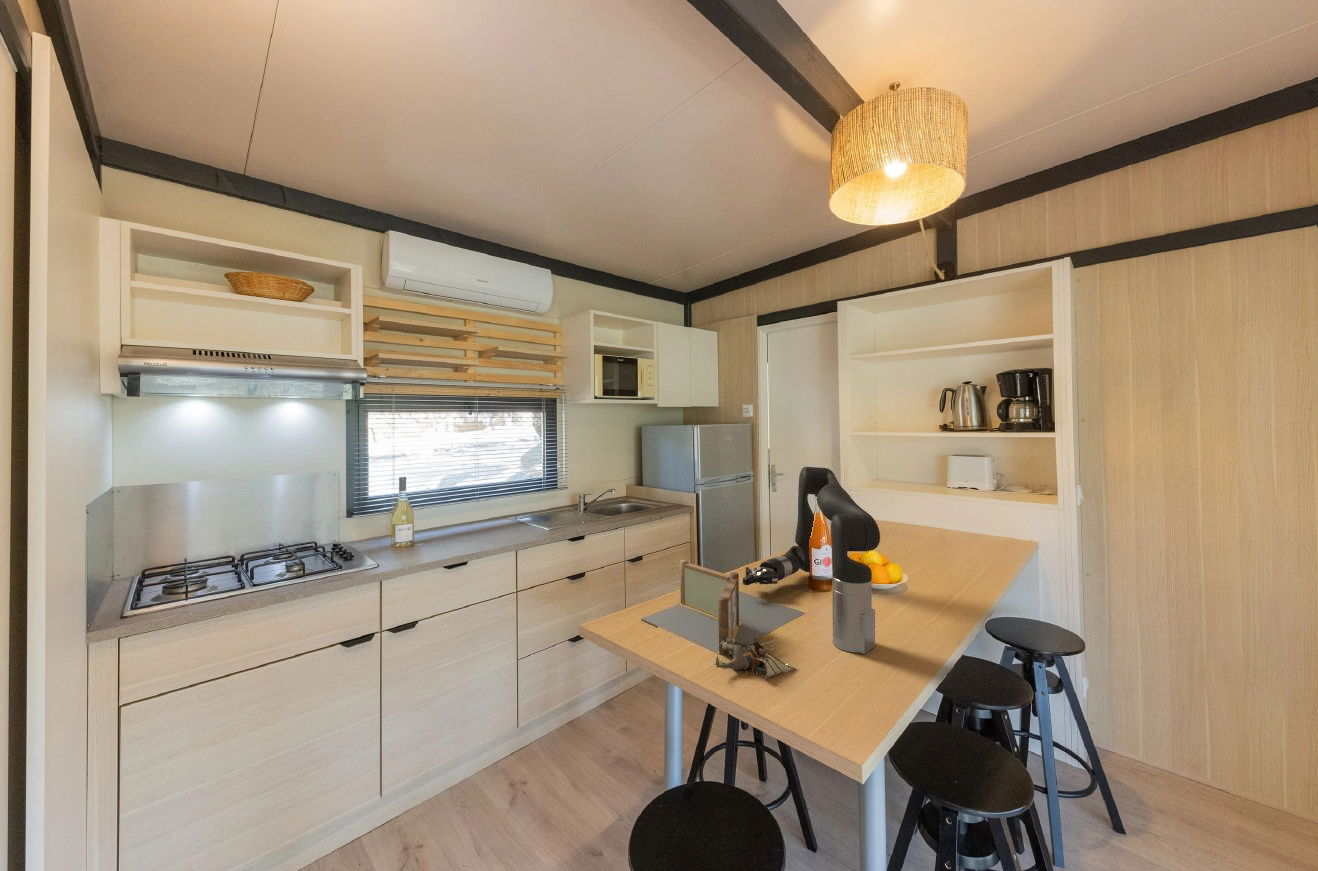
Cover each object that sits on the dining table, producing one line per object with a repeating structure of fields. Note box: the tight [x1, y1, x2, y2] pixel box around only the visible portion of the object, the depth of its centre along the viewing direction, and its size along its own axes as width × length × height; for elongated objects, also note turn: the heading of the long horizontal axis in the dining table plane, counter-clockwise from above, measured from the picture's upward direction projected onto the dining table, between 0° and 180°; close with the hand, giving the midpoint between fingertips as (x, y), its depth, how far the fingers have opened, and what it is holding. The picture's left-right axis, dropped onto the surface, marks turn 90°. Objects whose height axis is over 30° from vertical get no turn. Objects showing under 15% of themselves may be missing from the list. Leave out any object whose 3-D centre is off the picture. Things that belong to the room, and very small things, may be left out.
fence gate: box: [679, 559, 730, 617], centre depth 143 cm, size 20×2×13 cm, turn 42°
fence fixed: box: [718, 572, 740, 656], centre depth 126 cm, size 20×2×14 cm, turn 162°
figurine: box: [714, 636, 798, 681], centre depth 111 cm, size 20×6×17 cm
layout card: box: [640, 591, 806, 657], centre depth 140 cm, size 31×37×1 cm
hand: (744, 581), depth 151 cm, fingers closed
